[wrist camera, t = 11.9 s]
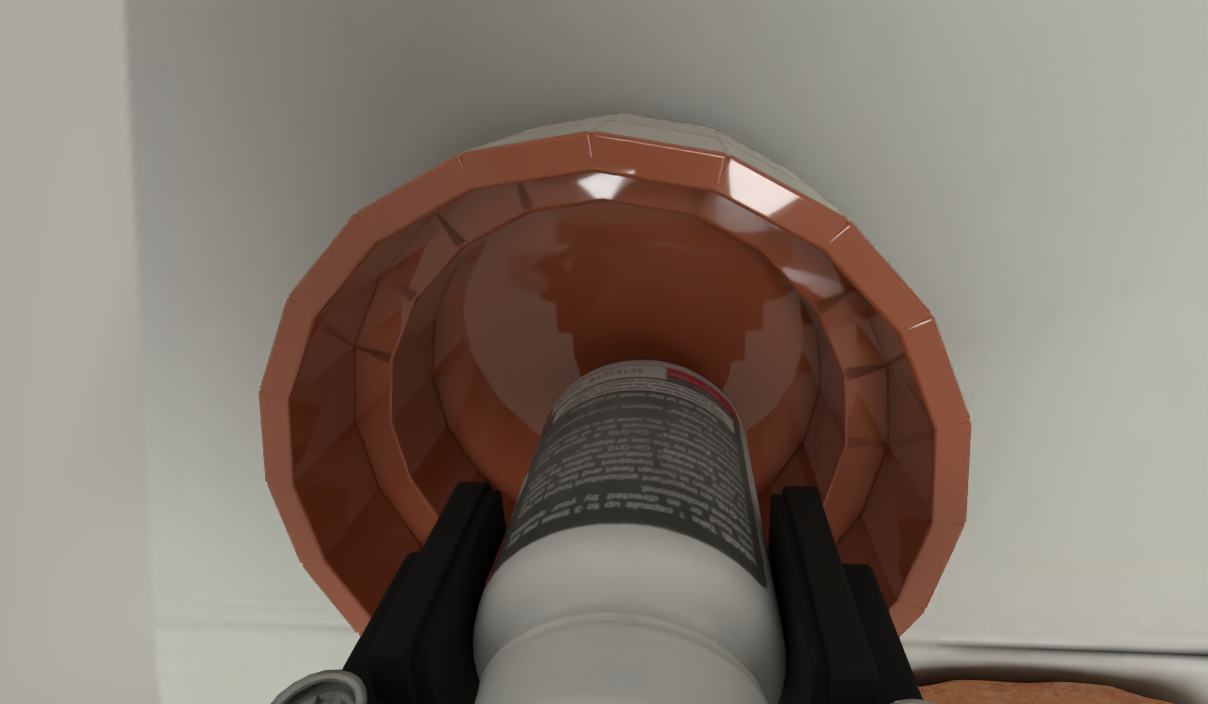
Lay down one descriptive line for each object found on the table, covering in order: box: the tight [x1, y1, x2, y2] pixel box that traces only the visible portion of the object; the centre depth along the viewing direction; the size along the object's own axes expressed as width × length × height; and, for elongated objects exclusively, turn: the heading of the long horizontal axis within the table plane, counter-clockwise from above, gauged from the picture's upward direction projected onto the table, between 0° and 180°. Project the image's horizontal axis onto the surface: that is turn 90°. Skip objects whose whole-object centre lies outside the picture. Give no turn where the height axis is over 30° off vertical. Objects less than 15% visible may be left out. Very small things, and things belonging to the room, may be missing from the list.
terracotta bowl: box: [259, 113, 971, 637], centre depth 15 cm, size 13×13×6 cm
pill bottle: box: [473, 360, 786, 704], centre depth 11 cm, size 5×5×8 cm
